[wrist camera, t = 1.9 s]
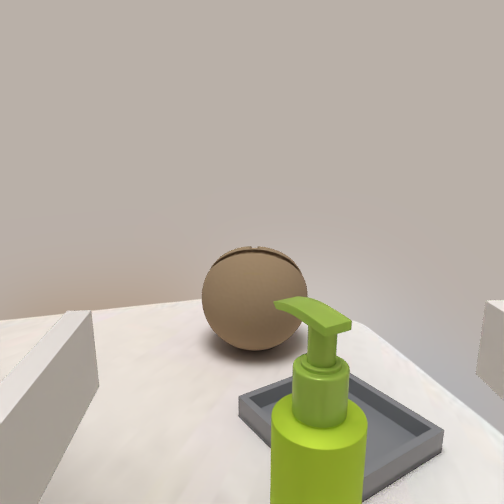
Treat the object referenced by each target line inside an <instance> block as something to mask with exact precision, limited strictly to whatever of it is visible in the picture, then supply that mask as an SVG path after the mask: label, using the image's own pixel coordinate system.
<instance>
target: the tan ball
mask: <svg viewBox="0 0 504 504" xmlns="http://www.w3.org/2000/svg"><path fill="white" fill-rule="evenodd" d="M296 296H301V297H307V286H306V283H305V280H304V278H303V276H302V273H301V271H300V269H299V268H298V266H297V265H296V264H295V262H294V261H293V260H291V258H289V257H288V256H286V255H285V254H283V253H281V252H279V251H276V250H274V249H270V248H266V247H258V248H252V247H251V246H250V247H241V248H237V249H234V250H231V251H229V252H227V253H225V254H224V255H222V256H221V257H220V258H219V259H218V260H217V261H216V262H215V263H214V264H213V266H212V267H211V269H210V271H209V272H208V274H207V276H206V278H205V281H204V284H203V289H202V305H203V310H204V314H205V317H206V319H207V321H208V323H209V325H210V326H211V328H212V329H213V331H214V332H215V333H216V334H217V335H218V336H219V337H220V338H221V339H223V340H224V341H225V342H227V343H228V344H230V345H233V346H235V347H237V348H241V349H244V350H265V349H269V348H272V347H275V346H277V345H279V344H281V343H283V342H284V341H286V340H287V339H288V338H289V337H291V336H292V335H293V333H294V332H295V331H296V330H297V329H298V327H299V326H300V324H301V322H302V321H301V320H300V319H298V318H297V317H295V316H293V315H292V314H290V313H288V312H285V311H282V310H278V309H276V308H275V305H274V303H273V302H274V301H278V300H283V299H287V298H292V297H296Z"/></svg>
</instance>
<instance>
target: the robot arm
mask: <svg viewBox="0 0 504 504" xmlns="http://www.w3.org/2000/svg"><path fill="white" fill-rule="evenodd" d="M476 375H478V376H479V377H480V378H481V379H482V380H483V381H484V382H485V383H486V384H487V385H488V386H489V387H490V388H491V389H492V390H493V391H494V392H496V394H497V395H499V396H500V397H501V398H502V399H503V400H504V300H490V301H489V300H488V301H486V302H485V310H484V317H483V324H482V331H481V339H480V346H479V353H478V360H477V368H476ZM98 388H99V379H98V370H97V360H96V351H95V342H94V332H93V323H92V313H91V310H88V311H87V310H84V311H67V312H66V313H65V314H64V315H63V316H62V317H61V318H60V319H59V320H58V321H57V322H56V323H55V324H54V325H53V327H52V328H51V329H50V330H49V331H48V332H47V333H46V334H45V335H44V336H43V337H42V338H41V339H40V340H39V341H38V343H37V344H36V345H35V346H34V347H33V348H32V349H31V350H30V351H29V352H28V353H27V354H26V355H25V356H24V358H23V359H22V360H21V361H20V362H19V363H18V364H17V365H16V366H15V367H14V368H13V369H12V370H11V371H10V373H9V374H8V375H7V376H6V377H5V378H4V379H3V380H2V381H1V382H0V504H38V502H39V501H40V499H41V497H42V495H43V493H44V491H45V489H46V487H47V485H48V483H49V481H50V480H51V478H52V476H53V474H54V472H55V470H56V468H57V466H58V464H59V462H60V460H61V458H62V457H63V455H64V453H65V451H66V449H67V447H68V445H69V443H70V441H71V439H72V437H73V435H74V434H75V432H76V430H77V428H78V426H79V424H80V422H81V420H82V418H83V416H84V414H85V412H86V411H87V409H88V407H89V405H90V403H91V401H92V399H93V397H94V395H95V393H96V391H97V389H98Z"/></svg>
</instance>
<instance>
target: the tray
mask: <svg viewBox="0 0 504 504" xmlns="http://www.w3.org/2000/svg"><path fill="white" fill-rule="evenodd" d="M292 377H293V376H292ZM292 377H289V378H286V379H284V380H281V381H278V382H276V383H273V384H270V385H267V386H265V387H262V388H259V389H257V390H254V391H251V392H249V393H246V394H243V395H241V396H239V417H240V418H241V419H242V420H243V421H244V422H245V423H246V424H247V425H248V426H249V427H250V428H251V429H252V430H253V431H254V432H255V433H256V434H257V435H258V436H259V437H260V438H261V439H262V440H263V441H264V442H265V443H266V444H267V445H268V446H269V447H270V448H271V414H272V410H273V407H274V406H275V404H276V403H277V402H278V401H279V400H280V399H282V398H283V397H285V396H287V395H289V394H291V393H292ZM348 399H349V400H351V401H353V402H354V403H355V404H357V405H358V406H359V407H360V408H361V409H362V411H363V412H364V414H365V416H366V418H367V422H368V428H367V441H366V454H365V466H364V479H363V492H362V502H363V501H365V500H366V499H368V498H369V497H371V496H373V495H374V494H376V493H377V492H379V491H380V490H382V489H384V488H385V487H387V486H388V485H390V484H392V483H393V482H395V481H396V480H398V479H399V478H401V477H403V476H404V475H406V474H407V473H409V472H411V471H412V470H414V469H415V468H417V467H419V466H420V465H422V464H423V463H425V462H426V461H428V460H430V459H431V458H433V457H434V456H436V455H438V454H439V453H441V451H442V443H443V435H444V430H443V429H442V428H440V427H438V426H437V425H435V424H433V423H432V422H430V421H428V420H427V419H425V418H423V417H422V416H420V415H418V414H417V413H415V412H414V411H412V410H410V409H409V408H407V407H405V406H404V405H402V404H400V403H399V402H397V401H395V400H394V399H392V398H390V397H389V396H387V395H386V394H384V393H382V392H381V391H379V390H377V389H376V388H374V387H372V386H371V385H369V384H367V383H366V382H364V381H362V380H361V379H359V378H358V377H356V376H354V375H353V374H351V373H350V375H349V391H348Z"/></svg>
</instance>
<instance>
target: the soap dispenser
mask: <svg viewBox="0 0 504 504" xmlns="http://www.w3.org/2000/svg"><path fill="white" fill-rule="evenodd" d="M273 303H274V305H275V308H276V309H278V310H282V311H285V312H288V313H290V314H292V315H293V316H295V317H297V318H298V319H300V320H301V321H302V322H304V323H305V324H307V325H308V348H307V353H306V354H303V355H301V356H299V357H298V358H296V359H295V361H294V363H293V377H292V393H291V394H289V395H287V396H285V397H283V398H282V399H280V400H279V401H278V402H277V403H276V404H275V406H274V407H273V410H272V414H271V489H270V504H362V492H363V479H364V466H365V454H366V441H367V428H368V422H367V418H366V416H365V414H364V412H363V411H362V409H361V408H360V407H359V406H358V405H357V404H355V403H354V402H353V401H351V400H349V399H348V391H349V375H350V369H349V365H348V364H347V363H346V361H344V360H343V359H342V358H340V357H338V356H336V347H337V334H338V333H342V332H345V331H349V330H351V324H352V321H351V320H350V319H349V318H347V317H345V316H344V315H342V314H341V313H339V312H338V311H336V310H334V309H333V308H331V307H329V306H328V305H326V304H324V303H322V302H320V301H318V300H315V299H312V298H308V297H301V296H296V297H292V298H287V299H283V300H278V301H274V302H273Z"/></svg>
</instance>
